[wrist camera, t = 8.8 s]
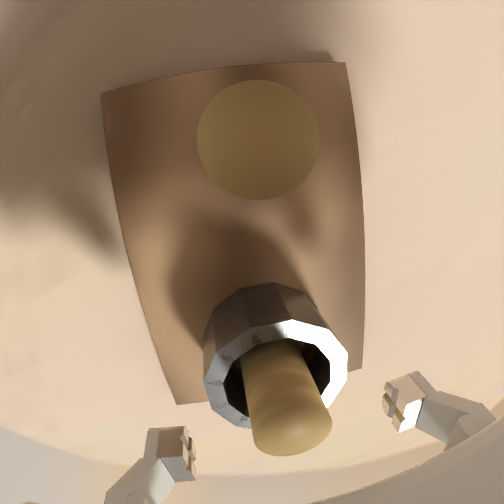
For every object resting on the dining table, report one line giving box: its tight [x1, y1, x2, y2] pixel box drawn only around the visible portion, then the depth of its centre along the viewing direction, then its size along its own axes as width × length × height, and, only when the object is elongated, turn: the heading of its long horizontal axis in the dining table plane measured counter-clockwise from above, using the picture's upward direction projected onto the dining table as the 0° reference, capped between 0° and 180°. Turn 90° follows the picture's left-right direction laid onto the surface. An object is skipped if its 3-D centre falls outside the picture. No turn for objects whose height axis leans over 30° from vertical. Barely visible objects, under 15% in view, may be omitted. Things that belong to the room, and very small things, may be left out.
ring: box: [203, 282, 347, 429], centre depth 15 cm, size 6×6×4 cm
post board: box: [101, 62, 365, 456], centre depth 12 cm, size 12×18×8 cm, turn 8°
